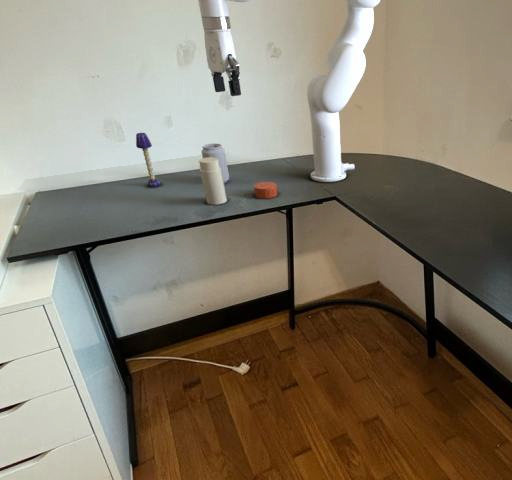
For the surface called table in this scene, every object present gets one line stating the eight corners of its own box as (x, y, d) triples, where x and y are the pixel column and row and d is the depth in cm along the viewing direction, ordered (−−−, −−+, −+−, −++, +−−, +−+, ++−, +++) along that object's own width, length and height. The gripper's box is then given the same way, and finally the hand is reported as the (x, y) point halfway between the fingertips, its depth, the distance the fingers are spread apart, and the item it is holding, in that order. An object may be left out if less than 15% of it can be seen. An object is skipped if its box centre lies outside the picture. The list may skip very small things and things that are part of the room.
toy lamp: (164, 183, 162) (150, 131, 152) (159, 187, 158) (145, 135, 148) (150, 183, 162) (135, 131, 152) (145, 187, 158) (130, 135, 148)
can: (232, 178, 166) (226, 142, 159) (225, 185, 160) (218, 148, 153) (212, 177, 166) (205, 142, 159) (204, 184, 161) (196, 147, 153)
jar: (225, 196, 151) (217, 156, 143) (228, 203, 146) (220, 161, 138) (205, 199, 149) (196, 158, 141) (207, 205, 144) (198, 163, 137)
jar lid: (264, 200, 148) (262, 190, 146) (250, 195, 152) (249, 185, 150) (282, 194, 152) (280, 185, 150) (268, 189, 156) (267, 180, 154)
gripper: (190, 24, 134) (203, 91, 144) (218, 26, 123) (230, 98, 134) (214, 23, 138) (225, 89, 148) (244, 25, 127) (253, 95, 138)
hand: (228, 93), depth 141 cm, fingers open, 9 cm apart
